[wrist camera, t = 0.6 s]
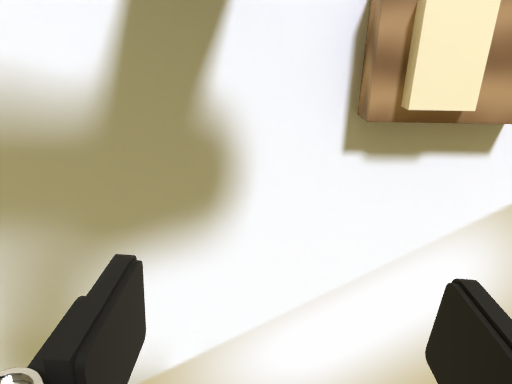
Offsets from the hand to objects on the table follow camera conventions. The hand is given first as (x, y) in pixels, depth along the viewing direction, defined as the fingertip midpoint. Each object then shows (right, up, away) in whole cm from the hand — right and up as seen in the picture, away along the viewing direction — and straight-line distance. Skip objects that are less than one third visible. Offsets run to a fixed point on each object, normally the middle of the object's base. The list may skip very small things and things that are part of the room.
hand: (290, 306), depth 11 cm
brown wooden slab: (+18, +17, +26) cm, 36 cm away
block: (+16, +15, +21) cm, 31 cm away
